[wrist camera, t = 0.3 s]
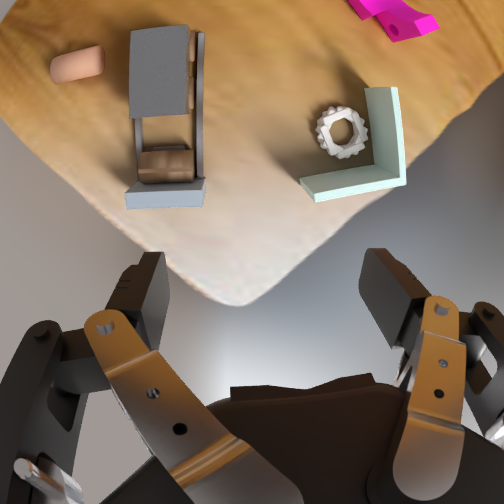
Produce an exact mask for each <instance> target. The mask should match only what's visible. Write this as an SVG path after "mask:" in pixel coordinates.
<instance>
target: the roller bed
mask: <svg viewBox="0 0 504 504" xmlns="http://www.w3.org/2000/svg"><path fill="white" fill-rule="evenodd" d="M204 46H205V33H198V59H197V179H203V79H204ZM195 54H196V35H195V31H191V40H190V62H192V61H194V60H195ZM194 100H195V84H194V77H189V109H193V108H194ZM135 139H136V157H137V172H138V182H141V183H142V184H152V183H175V182H194V177H195V154H194V150H185V145H175V146H158V147H153V151H152V152H143V129H142V118H135Z"/></svg>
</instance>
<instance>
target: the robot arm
mask: <svg viewBox="0 0 504 504" xmlns="http://www.w3.org/2000/svg"><path fill="white" fill-rule="evenodd" d="M359 293H360V295H361V297H362V299H363V301H364V302H365V304H366V306H367V307H368V309H369V311H370V312H371V314H372V316H373V318H374V319H375V321H376V323H377V324H378V326H379V328H380V330H381V331H382V333H383V335H384V337H385V338H386V340H387V342H388V344H389V346H390V348H391V349H397V348H404V349H405V350H404V352H403V354H402V357H401V360H400V364H399V367H398V371H397V374H396V377H395V380H394V383H393V385H389V384H384V383H376V382H375V380H374V378H373V376H372V374H371V373H366V374H361V375H355V376H348V377H341V378H338V379H335V380H333V381H330V382H327V383H324V384H322V385H319V386H316V387H313V388H311V389H295V388H286V387H278V386H269V385H262V386H239V387H230V396H231V397H229V398H225V399H222V400H219V401H216V402H214V403H212V404H209V405H207V406H206V407H205V406H204V405H203V404H202V403H201V401H200V400H199V399H198V398H197V397H196V396H195V395H194V394H193V393H192V391H191V390H190V389H189V388H188V387H187V386H186V385H185V383H184V382H183V381H182V380H181V379H180V377H179V376H178V375H177V374H176V373H175V372H174V370H173V369H172V368H171V367H170V365H169V364H168V363H167V362H166V361H165V359H164V358H163V357H162V356H161V355H160V353H159V352H158V350H159V344H160V340H161V335H162V330H163V326H164V321H165V317H166V313H167V309H168V304H169V299H170V298H169V297H170V288H169V281H168V274H167V267H166V260H165V254H164V252H144V254H143V256H142V258H141V260H140V262H139V264H138V265H131V266H130V267H129V268H127V269H126V270H125V271H124V272H123V273H122V275H121V277H120V279H119V282H118V283H117V285H116V289H114V291H113V293H112V295H111V297H110V299H109V301H108V303H107V305H106V307H105V310H103V311H99V312H97V313H95V314H93V315H92V316H90V317H89V318H88V319H87V321H86V322H85V324H84V328H82V329H78V330H72V331H66V332H62V330H61V328H60V326H59V324H58V323H57V322H54V321H51V320H45V321H41V322H38V323H36V324H34V325H33V326H31V327H30V328H29V329H28V330H27V332H26V334H25V335H24V337H23V339H22V341H21V343H20V345H19V347H18V348H17V350H16V352H15V354H14V356H13V358H12V360H11V362H10V364H9V366H8V368H7V371H6V372H5V375H4V377H3V379H2V381H1V384H0V504H84V500H83V492H82V489H81V487H80V486H79V484H78V483H77V482H76V481H75V480H74V479H73V478H72V472H73V466H74V459H75V454H76V448H77V443H78V438H79V433H80V429H81V424H82V419H83V415H84V410H85V407H86V402H87V398H88V394H89V393H91V392H97V391H103V390H108V389H111V390H112V392H113V394H114V395H115V397H116V399H117V401H118V403H119V404H120V406H121V408H122V410H123V411H124V413H125V415H126V416H127V418H128V419H129V421H130V423H131V424H132V426H133V427H134V429H135V431H136V432H137V434H138V435H139V437H140V438H141V440H142V441H143V443H144V445H145V446H146V448H147V449H148V450H149V452H150V453H151V455H152V456H151V457H150V458H149V459H148V460H147V461H146V462H145V463H144V464H143V465H142V466H141V467H140V468H139V469H138V470H136V471H135V473H133V474H132V475H131V476H130V477H129V478H128V479H127V480H126V481H125V482H123V483H122V484H121V485H120V486H119V487H118V488H117V489H116V490H114V491H113V492H112V493H111V494H110V495H109V496H108V497H107V498H105V499H104V500H103V501H102V502H101V503H99V504H504V316H503V315H502V314H501V312H500V311H499V310H498V309H497V308H496V307H495V306H493V305H491V304H489V303H486V302H477V303H476V304H475V305H474V308H473V310H472V312H471V313H468V312H459V311H458V308H457V306H456V305H455V304H454V303H453V302H452V301H450V300H449V299H447V298H444V297H441V296H432V295H431V294H430V293H429V292H428V290H427V289H426V288H425V287H424V286H423V285H422V284H421V282H420V281H419V280H417V278H416V277H415V275H414V274H412V272H411V271H410V270H409V269H408V268H407V266H406V265H404V264H402V263H401V262H399V261H398V260H396V259H395V258H394V257H393V256H392V255H391V254H390V253H389V251H388V250H387V249H385V248H369V249H367V251H366V253H365V257H364V261H363V266H362V271H361V275H360V279H359ZM487 348H488V349H489V350H490V352H491V353H492V354H493V356H494V358H495V359H496V361H497V366H498V368H497V372H496V374H495V375H494V377H493V378H491V376H490V374H489V373H488V371H487V369H486V368H485V366H484V365H483V363H482V361H481V360H480V359H481V357H482V356H483V354H484V353H485V351H486V349H487ZM464 397H465V399H466V401H467V403H468V405H469V407H470V409H471V411H472V412H473V415H474V417H475V419H476V421H477V423H478V425H479V428H480V430H481V432H482V434H483V436H484V437H482V436H481V435H479V434H477V433H476V432H474V431H472V430H470V429H469V428H467V427H465V426H463V425H462V424H461V417H462V409H463V399H464Z"/></svg>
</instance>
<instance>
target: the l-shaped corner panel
mask: <svg viewBox="0 0 504 504" xmlns="http://www.w3.org/2000/svg"><path fill="white" fill-rule="evenodd" d="M364 90H365V96H366V102H367V109H368V116H369V123H370V130H371V138H372V147H373V157H374V165H368V166H362V167H356V168H350V169H344V170H339V171H333V172H328V173H322V174H317V175H312V176H307V177H302V178H300V184H301V186H302V187H303V189H304V190H305V191H306V192H307V193H308V194H309V196H310V197H311V198H312V199H313V200H314V201H315V203H316V202H321V201H325V200H330V199H335V198H340V197H345V196H350V195H355V194H360V193H365V192H370V191H375V190H380V189H386V188H391V187H396V186H402V185H406V169H405V153H404V140H403V129H402V120H401V112H400V104H399V97H398V90H397V87H374V88H364ZM322 115H323V116H322V117H320V119H318V120H317V123H318V126H317V128H316V130H315V131H316V132H317V133H318V137H317V138H318V141H319V142H320V143H321V145H320V146H321V148H323V149H327V152H328V154H329V155H331V156H333V155H335V156H336V158H339V159H343V158H347V159H349V157H350V155H351V154H353V155H357V154H358V152H359V151H360V150H362V149H365V145H364V143H363V142H364V141H366V140H368V137H367V131H368V129H367V128H366V127H363V125H364V122H365V120H364V119H362V118H360V117H359V115H358V113H357V112H356V111H355V110H354V111H353V109H350V108H349V107H343V106H338V107H337V108H336V109H335V108H333V107H332V106H331V107H330V108H329V109H328V111H325V112H322ZM341 118H346V119H347V120H349V121H350V122H352V124H353V132H354V136H353V137H352V138H351V140H350V141H349V143H348V144H346V145H339V146H338V145H337V144H335V143H334V142H333V140H332V138H331V135H330V133H329V130H330V127H331V125H332V123H333V122H334V121H337V120H339V119H341Z"/></svg>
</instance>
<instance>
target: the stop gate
mask: <svg viewBox="0 0 504 504" xmlns="http://www.w3.org/2000/svg"><path fill="white" fill-rule="evenodd" d="M205 193H206V187H205V177H203V179H197V178H194V182H175V183H152V184H142V183H141V182H138V181H137V182H136V183H135V184H134V185H133V186H132V187H131V188H130V189H129V190H127V191H126V192H125V200H126V209H151V208H184V207H202V206H203V201H204V197H205Z"/></svg>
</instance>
